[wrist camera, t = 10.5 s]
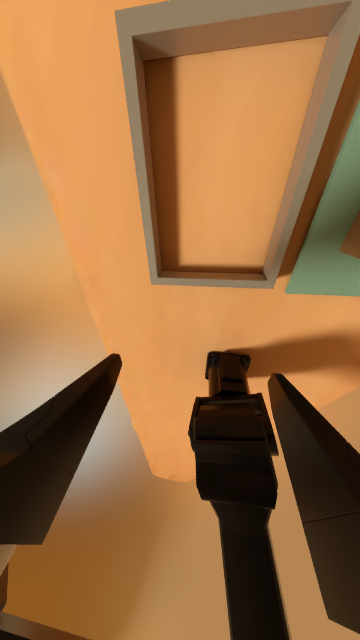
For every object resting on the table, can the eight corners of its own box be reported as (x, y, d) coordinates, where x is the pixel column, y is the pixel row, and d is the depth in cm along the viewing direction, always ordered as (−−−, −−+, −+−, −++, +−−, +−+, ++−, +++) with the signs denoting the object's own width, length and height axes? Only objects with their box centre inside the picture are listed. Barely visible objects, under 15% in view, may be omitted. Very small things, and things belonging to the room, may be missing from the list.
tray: (267, 281, 18) (273, 288, 16) (155, 277, 19) (151, 284, 18) (352, 5, 9) (384, -39, 7) (129, 40, 10) (114, 10, 9)
